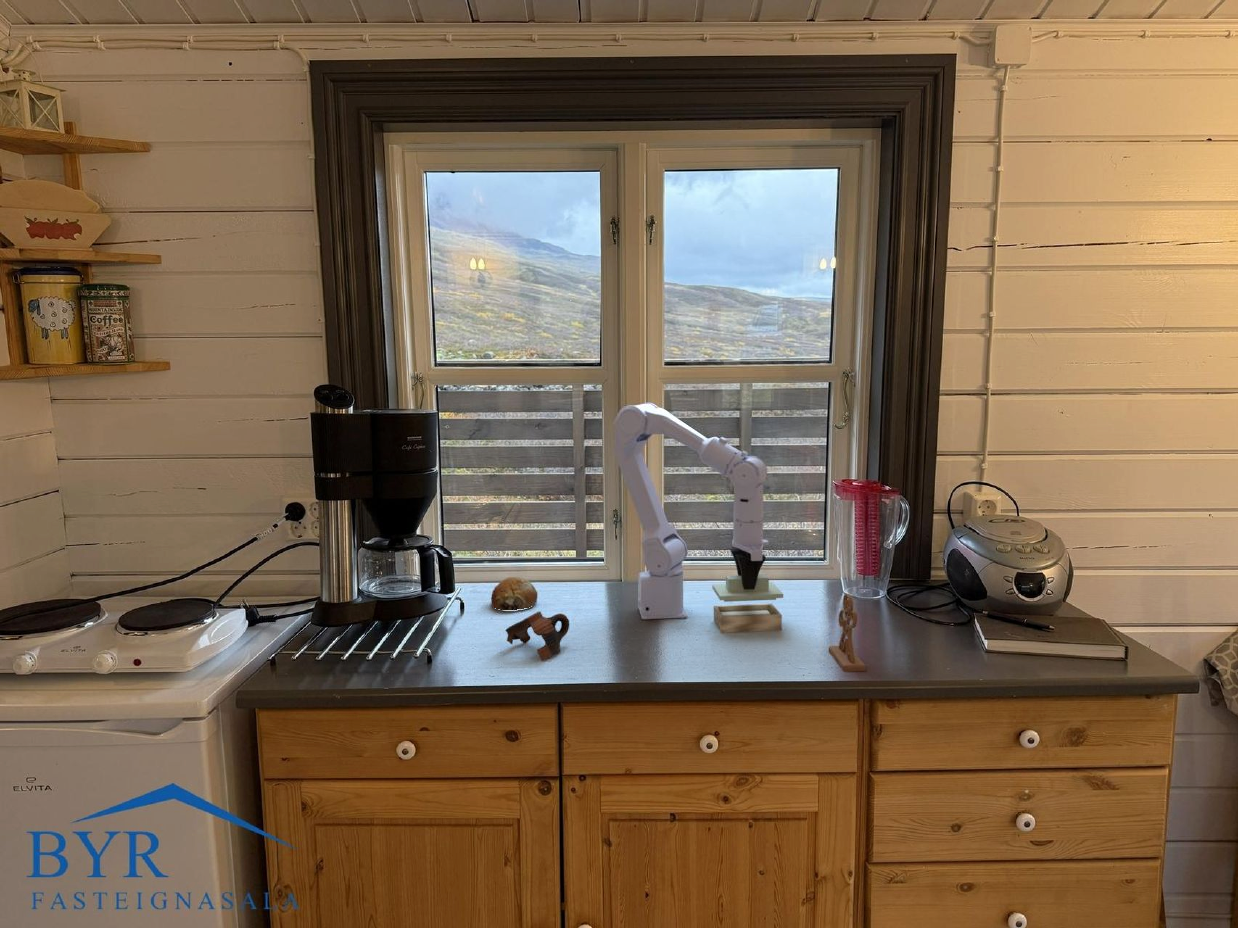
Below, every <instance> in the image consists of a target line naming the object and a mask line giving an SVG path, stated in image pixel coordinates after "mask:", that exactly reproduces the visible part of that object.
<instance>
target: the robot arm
mask: <svg viewBox="0 0 1238 928" xmlns="http://www.w3.org/2000/svg"><path fill="white" fill-rule="evenodd" d="M612 424H613V427H614V430H615V431H614V434H615V435H614V448H613V453H614V456H615V459H616V461H617V464H618V466H619V468H620V473H621V475H622V477H623V479H624V482H625V486H626V488H627V491H628V493H629V496H630V498H631V501H632V504H633V506H634V509H635V512H636V514H637V518H638V519H639V523H640V525H641V527H642V531H643V534H642V539H641V541H640V542H641V543H640V544H641V546H642V550H643V551H642V552H643V564H644V566H645V568H646V569H647V570H646V571H641V572H639V573H638V574H637V575H638V577H637V579H638V580H637V584H638V585H637V592H638V593H637V594H638V598H637V606H638V610H639V611H638V612H639V614H640V617H641V619H642V620H659V619H660V620H661V619H677V618H679V619H681V618H683V619H684V618H685V619H686V618H688V616H689V614H688V612H687V610H686V609H685V607H684V567H683V562H684V561H685V560H686V558H687V556H688V546H687V544H686V542H685V541H684V539H683V538H681V536H680V535H679V534H678V531H677V529H676V527H675V526H673V525H672V524H671V523H669V521H668V519H667V516H666V513H665V511H664V508H663V505H662V503H661V500H660V498H659V495H658V492H657V490H656V487H655V485H654V482H653V479H652V476H651V474H650V470H649V469H648V466H647V463H646V460H645V457H644V454H643V450H644V448H645V446H646V443H647V442H648V440H649V438H651V437H652V436H653V435H666V436H667V437H668V438H670V439H673V440H675V441H676V442H678V443H680V444H682V445H683V446H685V447H688V448H689V449H691V450H692V451H695V452H696V453H697V454H698V456H699V460H700V461H701V463H703V464H705V465H706V466H708V467H710V468H711V469H713V471H716V472H717V473H719V474H721V475H722V476H724V477H725V478H729V481H730V483H731V485H732V487H733V513H732V514H733V518H732V519H733V520H732V522H733V525H732V527H733V528H732V530H733V533H732V538H733V539H732V540H731V544H732V546H733V547H734V548H733V547H731V548H730V549H729V550H730V553H731V555H732V557H733V560H734V563H735V567H736V573H737V575H741V577H742V584H743V588H744V590H750V589H755V586H756V582H757V578H758V575H760V570H761V569H762V566H763V564H764V563H765V562H766V559H767V558H766V557H767V556H766V555H765V554H763V548H764V546H769V543H770V542H769V540H767V539H764V537H763V536H764V526H763V525H764V483H763V482H764V481H765V480H766V478H767V475H768V469H767V465H766V464H765V462H764V461H763V460H761V459H760V457H759V456H757V455H755V456H754V455H749V456H748V454H749V452H747V451H746V450H743V451H741V450H739V449H738V448H736V447H734V446H733V445H731V444H729V443H728V439H727V438H725V437H724V436H722V437H720V438H719V437H718V436H713V437H710V438H707V437H706V436H704V435H703V434H701V433H699V432H698V431H697V430H695V429H693V427H691V426H689V425H687V424H686V422H685V423H684V422H683V421H682V420H680V419H679V418H677V417H676V416H674V415H673V414H671V413H670V412H669V411H668V410H666V409H664V408H662V407H659V406H657V405H656V404H654V403H653V402H643V403H642V404H635V405H630V404H629V405H626V406H623V407H622V408H621V409H620V410H619V411H618V413H617V415H616V417H615V419H614V420H613V422H612Z"/></svg>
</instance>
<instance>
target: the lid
mask: <svg viewBox="0 0 1238 928" xmlns="http://www.w3.org/2000/svg"><path fill="white" fill-rule="evenodd" d="M711 586H712V587H711V588H712V590H713V592H714V593H715V594H716V596H717V598H718V599H719V601H723V602H724V603H726V602H727V603H728V602H731V603H732V602H748V601H749V602H750V601H751V602H753V601H776V600H777V599H784V592H782V591H781V589H780V588H779V587H778V586H777V585H776V584H775V583H774V581H773V582H771V581H770V579H769V577H768V576H767V574H758V578H757V582H756V586H755V589H750V590H744V588H743V584H742V577H741V575H738V574H736V575H725V583H719V584H718V583H717V584H712V585H711Z"/></svg>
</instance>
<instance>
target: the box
mask: <svg viewBox="0 0 1238 928" xmlns="http://www.w3.org/2000/svg"><path fill="white" fill-rule="evenodd" d="M713 621H714V623H715V625H716V626H717V628H718V630H719V632H720V633H740V632H741V633H742V632H743V633H744V632H745V633H746V632H765V631H769V632H770V631H782V627H783V626H782V625H783V614H782V613H781V612H780V611H779V610H778V608H777V607H775V606H774V604H773V603H754V604H752V603H751V604H750V603H749V604H748V603H746V604H729V605H728V604H725V605H713Z"/></svg>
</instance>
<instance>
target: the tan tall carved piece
mask: <svg viewBox="0 0 1238 928" xmlns="http://www.w3.org/2000/svg"><path fill="white" fill-rule="evenodd" d="M842 605H843V607H842V608H843V609H840V611H839V613H838V625H839V627H840V628H842V634H841V636H840V640H839V644H838V645H830V646H828V653H829V654H830V656H831V657H832V659H834V661H835V662H836V663H837V665H838V667H839V668H840V669H841V671H843V672H865V671H866V665H865V663H864V662H863V660H862V659H861V658H860V657H859V656H858V655H857V654H856V653H855V651H854V646H853V645H854V644H853V638H852V635H853V629H855V628H856V627H857V623H858V614H857V610H854V600H853V597H852V595H851V594H850V593H848V594H846V593H845V594H844V595H843V599H842ZM850 622H852V624H851V623H850ZM846 637H847V638H846Z"/></svg>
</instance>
